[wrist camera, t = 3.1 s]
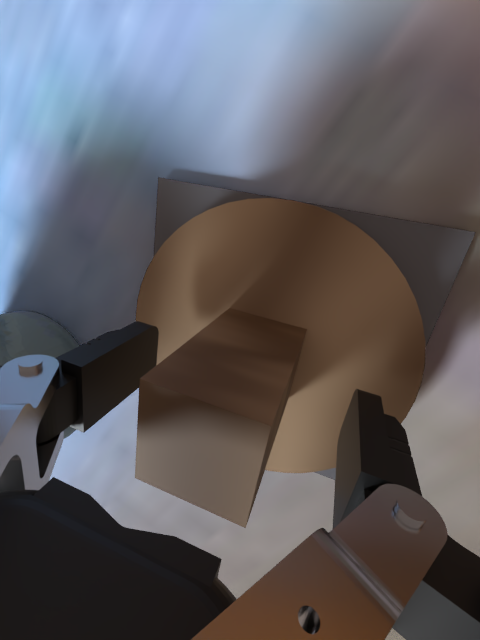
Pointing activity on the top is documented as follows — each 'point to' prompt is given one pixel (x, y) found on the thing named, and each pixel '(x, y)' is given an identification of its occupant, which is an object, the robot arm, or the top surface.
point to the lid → (267, 348)
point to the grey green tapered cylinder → (33, 339)
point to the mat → (390, 233)
